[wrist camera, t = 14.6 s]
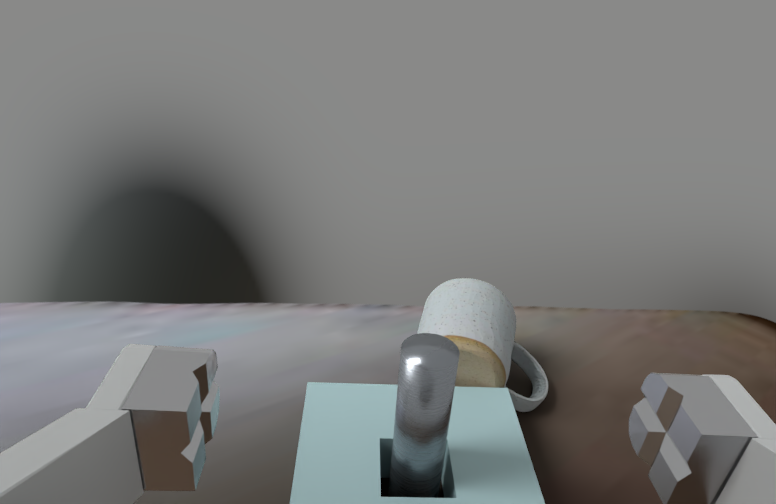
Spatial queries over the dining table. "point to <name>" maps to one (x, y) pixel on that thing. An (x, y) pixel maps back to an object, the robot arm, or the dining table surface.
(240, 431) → the dining table surface
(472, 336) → the ceramic mug
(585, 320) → the dining table surface
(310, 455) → the socket block
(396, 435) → the pin
